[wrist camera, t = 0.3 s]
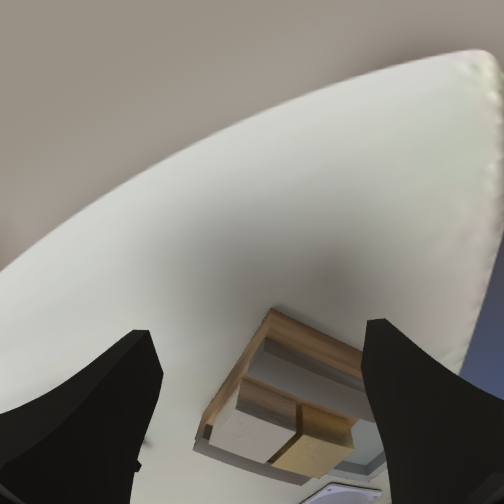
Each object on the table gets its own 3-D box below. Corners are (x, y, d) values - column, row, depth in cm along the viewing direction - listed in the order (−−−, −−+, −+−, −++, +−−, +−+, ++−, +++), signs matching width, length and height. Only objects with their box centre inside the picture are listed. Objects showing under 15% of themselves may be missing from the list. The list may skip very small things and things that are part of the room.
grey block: (266, 433, 20) (263, 463, 17) (216, 413, 20) (208, 443, 17) (295, 400, 19) (296, 432, 16) (241, 378, 19) (235, 409, 16)
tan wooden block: (317, 449, 20) (319, 478, 17) (272, 435, 20) (270, 465, 17) (348, 419, 19) (354, 449, 16) (301, 402, 19) (303, 434, 16)
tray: (365, 467, 24) (368, 482, 23) (298, 450, 24) (298, 466, 22) (447, 388, 21) (455, 402, 19) (381, 360, 21) (388, 376, 19)
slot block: (297, 450, 24) (298, 488, 20) (202, 415, 24) (190, 452, 19) (381, 360, 21) (397, 398, 17) (270, 308, 20) (268, 343, 16)
